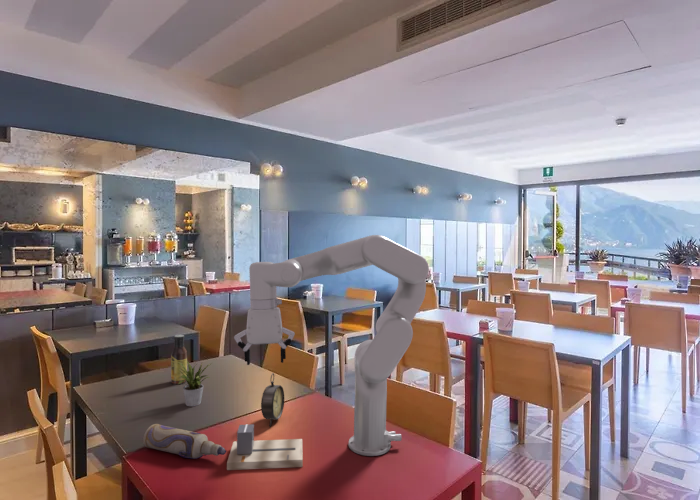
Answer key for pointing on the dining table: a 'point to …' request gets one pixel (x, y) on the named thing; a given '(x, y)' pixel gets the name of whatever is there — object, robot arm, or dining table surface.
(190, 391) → the house plant
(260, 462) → the fader board
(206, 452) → the decorative bottle
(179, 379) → the sauce bottle
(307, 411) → the dining table surface
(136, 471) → the dining table surface
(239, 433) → the fader slider
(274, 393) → the alarm clock
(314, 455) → the dining table surface
